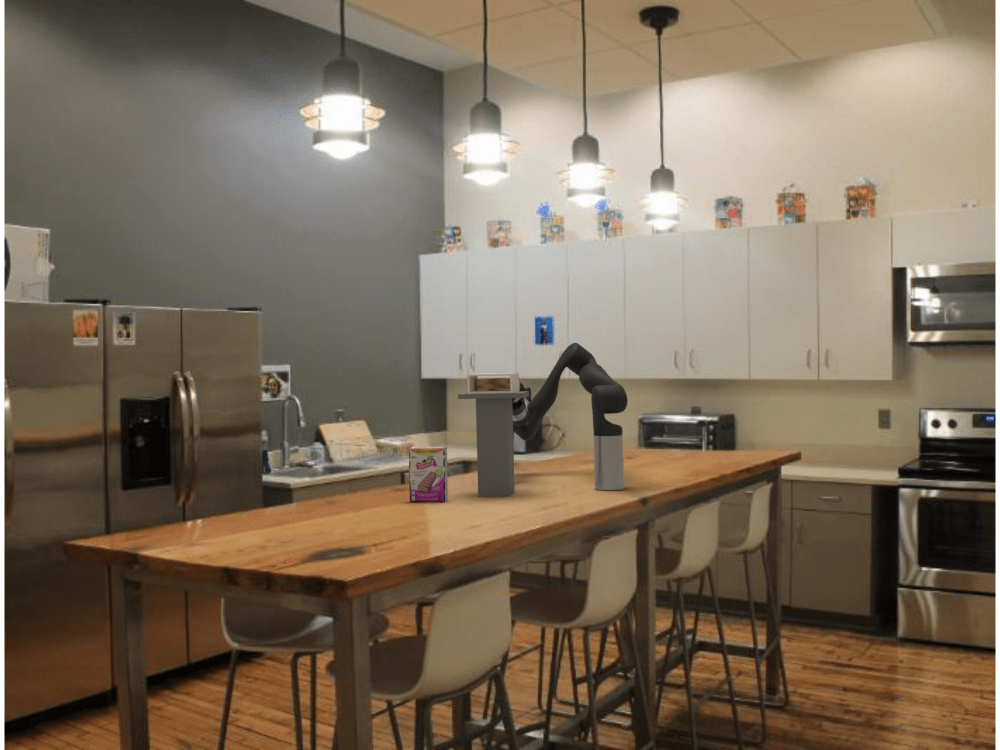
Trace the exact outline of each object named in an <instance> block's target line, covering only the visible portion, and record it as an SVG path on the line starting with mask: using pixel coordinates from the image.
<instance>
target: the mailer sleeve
mask: <svg viewBox="0 0 1000 750" xmlns="http://www.w3.org/2000/svg"><path fill="white" fill-rule="evenodd" d="M497 376H498V377H499V376H500V377H501V376H503V377H504V376H509V378H510V389H506V390H476V379H479V377H497ZM466 377H467V393H468V394H491V393H515V392H519V378H520V373H519V372H493V373H492V372H490V373H486V372H485V373H468V374H467V375H466Z"/></svg>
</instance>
